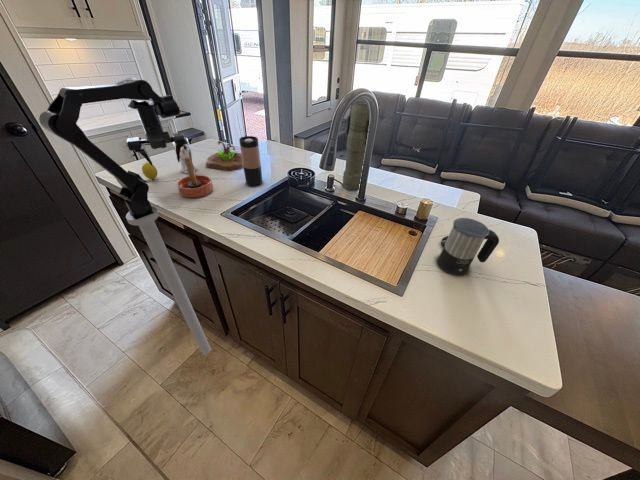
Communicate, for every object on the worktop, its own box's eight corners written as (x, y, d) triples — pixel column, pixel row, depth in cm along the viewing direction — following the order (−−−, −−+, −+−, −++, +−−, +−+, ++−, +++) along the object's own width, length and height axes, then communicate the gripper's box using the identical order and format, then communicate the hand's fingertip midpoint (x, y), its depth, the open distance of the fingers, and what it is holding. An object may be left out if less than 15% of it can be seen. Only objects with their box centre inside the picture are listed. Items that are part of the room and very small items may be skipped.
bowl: (190, 202, 102) (186, 192, 99) (174, 191, 108) (170, 181, 105) (219, 191, 110) (217, 181, 107) (203, 181, 116) (200, 172, 114)
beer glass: (182, 168, 126) (172, 137, 117) (197, 167, 128) (188, 136, 119) (180, 174, 121) (170, 142, 112) (196, 173, 123) (187, 141, 114)
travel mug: (255, 178, 121) (250, 134, 109) (266, 183, 118) (261, 139, 105) (242, 183, 117) (235, 138, 104) (253, 188, 113) (246, 143, 100)
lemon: (162, 178, 117) (156, 162, 112) (150, 183, 113) (143, 166, 108) (155, 175, 119) (148, 159, 114) (143, 180, 115) (136, 162, 110)
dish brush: (193, 193, 106) (183, 161, 97) (187, 189, 108) (177, 157, 99) (204, 189, 109) (196, 157, 100) (198, 185, 111) (189, 154, 103)
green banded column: (359, 193, 113) (372, 107, 92) (336, 186, 118) (343, 102, 96) (367, 186, 119) (381, 103, 98) (345, 179, 124) (354, 99, 102)
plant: (215, 154, 142) (211, 134, 135) (250, 156, 142) (247, 136, 135) (201, 169, 127) (195, 146, 120) (240, 171, 126) (236, 149, 119)
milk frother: (448, 278, 75) (469, 239, 66) (418, 245, 87) (432, 207, 77) (487, 270, 78) (512, 231, 69) (453, 239, 90) (470, 202, 81)
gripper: (118, 129, 80) (138, 176, 90) (182, 124, 87) (194, 167, 97) (119, 121, 87) (137, 164, 97) (178, 116, 95) (190, 157, 105)
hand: (165, 163), depth 99 cm, fingers open, 9 cm apart
